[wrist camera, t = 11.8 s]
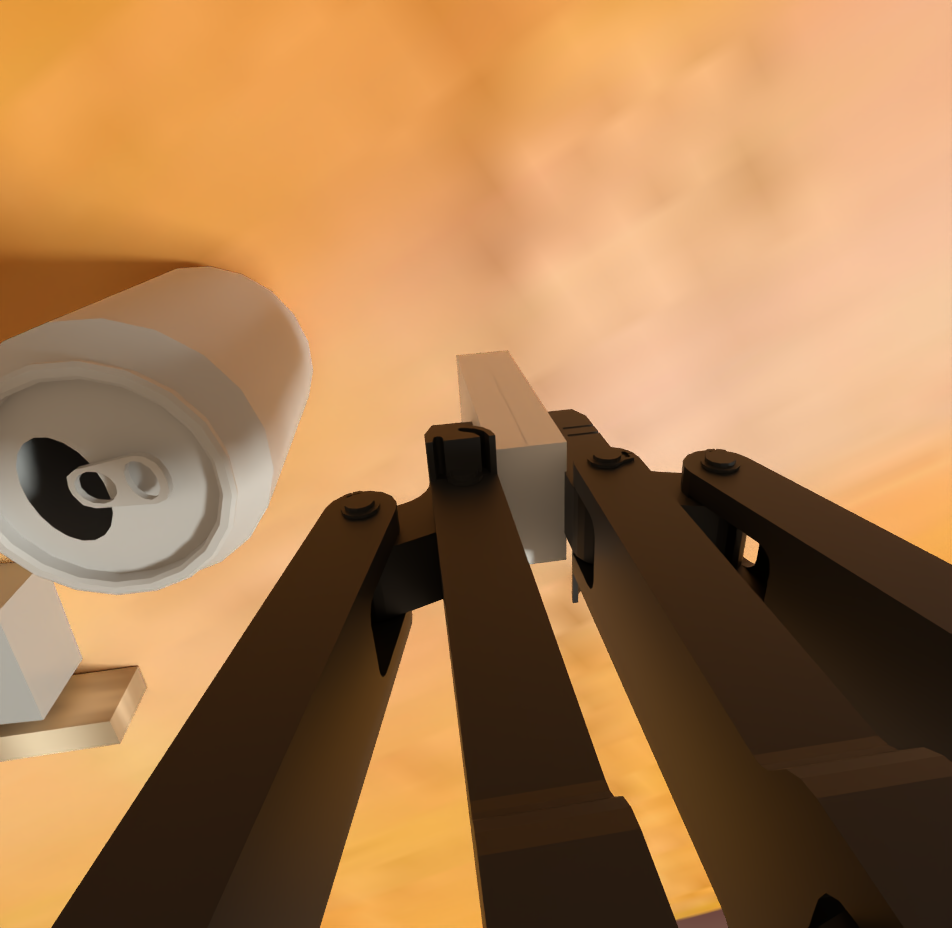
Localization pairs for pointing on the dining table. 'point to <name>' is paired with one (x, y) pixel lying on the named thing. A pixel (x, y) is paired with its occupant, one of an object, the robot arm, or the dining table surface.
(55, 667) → the pale grey square block
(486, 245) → the dining table surface
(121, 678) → the tray
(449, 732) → the dining table surface
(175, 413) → the can
